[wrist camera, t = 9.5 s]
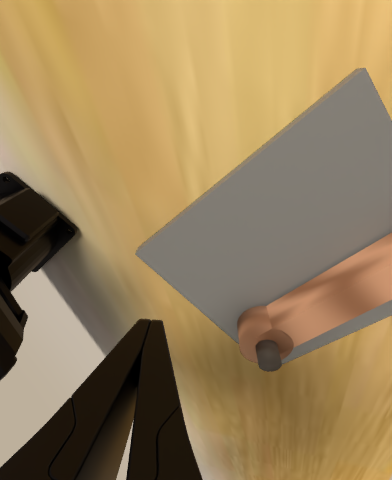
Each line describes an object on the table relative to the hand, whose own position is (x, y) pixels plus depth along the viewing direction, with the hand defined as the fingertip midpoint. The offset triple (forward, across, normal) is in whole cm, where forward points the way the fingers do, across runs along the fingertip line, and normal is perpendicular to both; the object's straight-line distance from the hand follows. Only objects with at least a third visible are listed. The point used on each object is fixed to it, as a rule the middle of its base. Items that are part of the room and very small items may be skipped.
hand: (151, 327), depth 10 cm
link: (+11, -12, +6) cm, 17 cm away
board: (+12, -10, +4) cm, 16 cm away
